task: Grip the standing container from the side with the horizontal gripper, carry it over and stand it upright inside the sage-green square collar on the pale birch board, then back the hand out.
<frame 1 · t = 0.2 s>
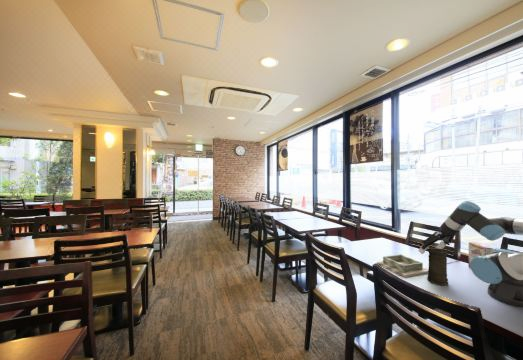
hand: (428, 251, 125), 15 cm above the table, tool tilted 35°, fingers open, 13 cm apart
collar board: (402, 268, 136), on the table
candy bar box: (480, 271, 132), on the table
container: (437, 282, 118), on the table
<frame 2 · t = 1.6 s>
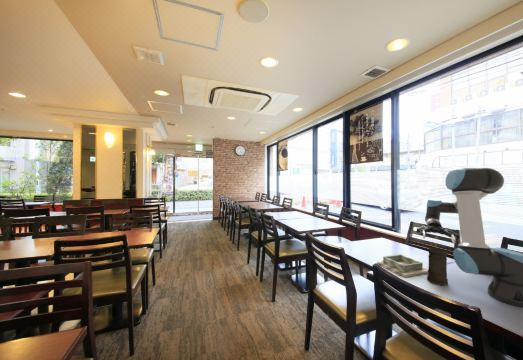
hand: (439, 238, 123), 23 cm above the table, tool horizontal, fingers open, 13 cm apart
nothing on the table moved.
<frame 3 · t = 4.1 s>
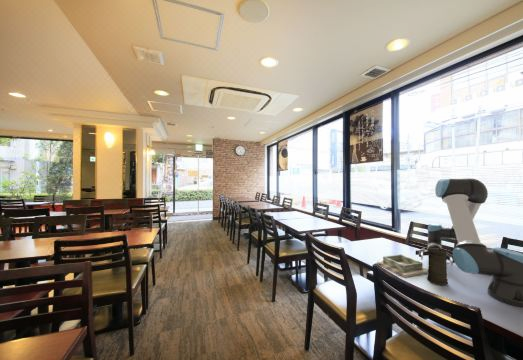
hand: (436, 260, 124), 10 cm above the table, tool horizontal, fingers open, 13 cm apart
nothing on the table moved.
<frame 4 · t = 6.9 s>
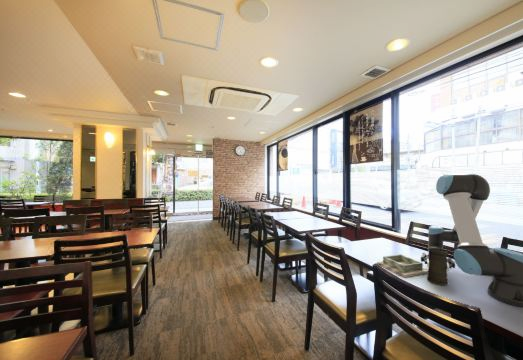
hand: (438, 266, 114), 10 cm above the table, tool horizontal, fingers closed on container, 8 cm apart
container: (437, 281, 118), on the table, touching gripper
everything else where it was.
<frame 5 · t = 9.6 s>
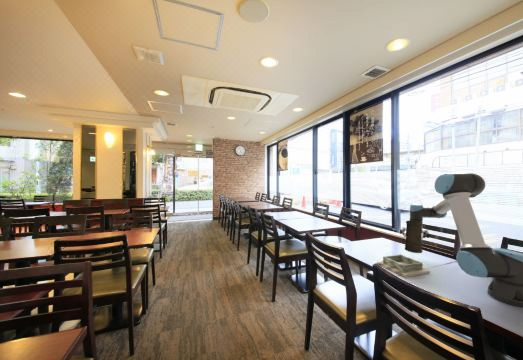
hand: (413, 236, 127), 23 cm above the table, tool horizontal, fingers closed on container, 8 cm apart
container: (413, 250, 131), point 13 cm above the table, touching gripper
everything else where it was.
when the fingers open (13 cm above the table, at t = 12.6 s): container drops 1 cm, resting on collar board.
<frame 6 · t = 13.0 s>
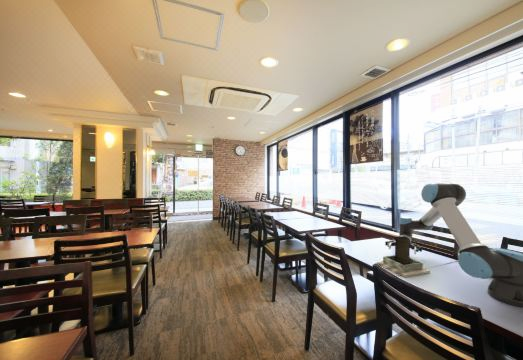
hand: (401, 249, 133), 13 cm above the table, tool horizontal, fingers open, 13 cm apart
container: (402, 266, 136), point 1 cm above the table, touching collar board
everything else where it was.
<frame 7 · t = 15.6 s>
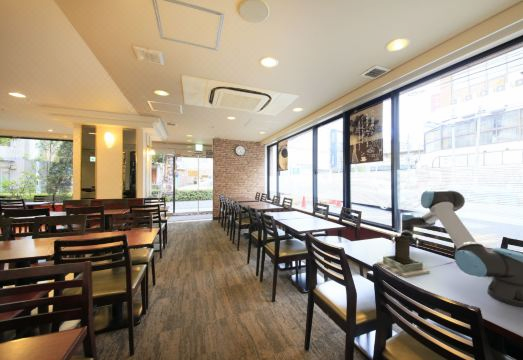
hand: (404, 243, 143), 14 cm above the table, tool horizontal, fingers open, 13 cm apart
nothing on the table moved.
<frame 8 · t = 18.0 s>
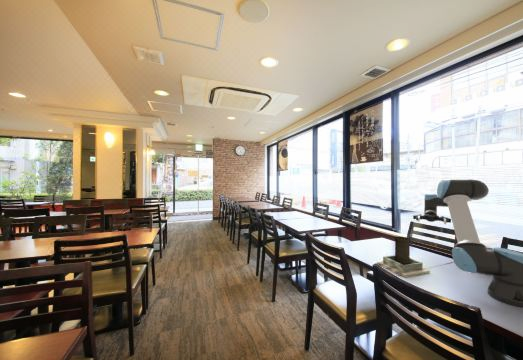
hand: (431, 220, 138), 30 cm above the table, tool horizontal, fingers open, 13 cm apart
nothing on the table moved.
at the end: container 0.1 cm off-centre on the collar board, point 1.3 cm above the collar board's base; container tilted 0°; the gripper is holding nothing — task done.
